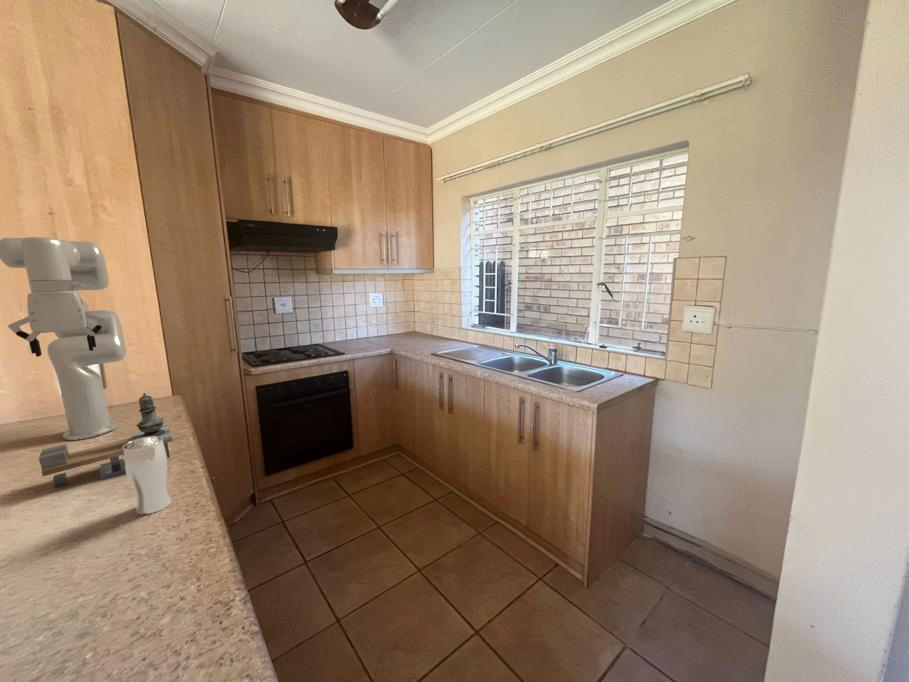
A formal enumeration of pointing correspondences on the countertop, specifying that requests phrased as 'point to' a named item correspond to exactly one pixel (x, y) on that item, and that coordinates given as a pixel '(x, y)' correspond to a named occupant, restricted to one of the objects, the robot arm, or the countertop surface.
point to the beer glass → (147, 473)
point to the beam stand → (102, 470)
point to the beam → (86, 454)
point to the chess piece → (149, 418)
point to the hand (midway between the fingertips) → (66, 352)
